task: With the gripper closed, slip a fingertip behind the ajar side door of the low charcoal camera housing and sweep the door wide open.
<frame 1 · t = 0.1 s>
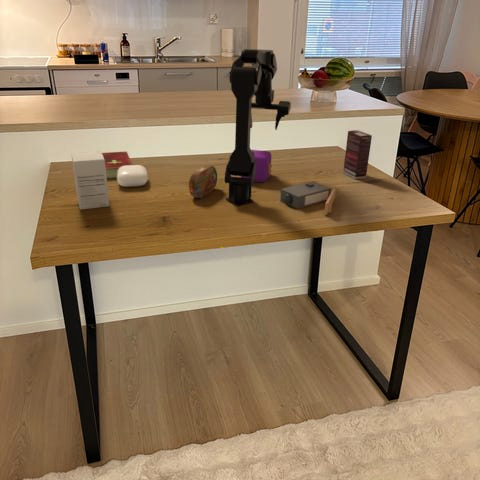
hand: (263, 128, 175), 15 cm above the table, fingers open, 9 cm apart
earbud case: (132, 183, 165), on the table
hardcover book: (115, 170, 179), on the table
side door: (331, 201, 147), point 2 cm above the table, hinge at 35.0°
supplement box 2: (93, 203, 147), on the table
camera housing: (305, 200, 153), on the table
supplement box: (354, 176, 177), on the table
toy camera: (256, 177, 173), on the table
tin: (203, 194, 157), on the table
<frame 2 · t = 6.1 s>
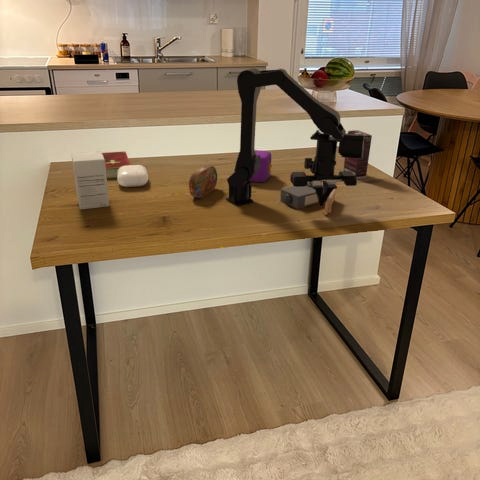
hand: (320, 205, 144), 2 cm above the table, fingers closed
side door: (331, 201, 147), point 2 cm above the table, hinge at 35.0°, touching gripper
everything else where it was.
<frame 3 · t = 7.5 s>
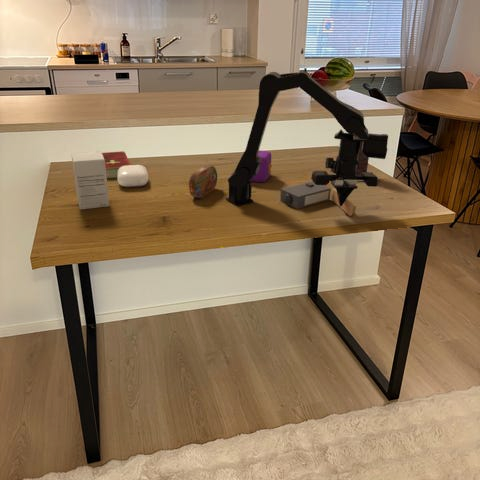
hand: (340, 205, 144), 2 cm above the table, fingers closed
side door: (343, 201, 147), point 2 cm above the table, hinge at 67.0°, touching gripper
everything else where it was.
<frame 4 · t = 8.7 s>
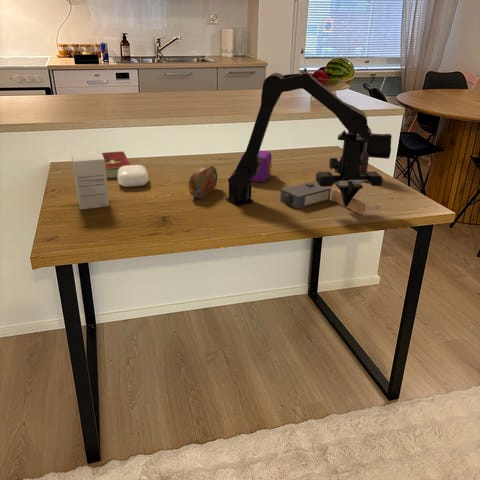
hand: (345, 205, 145), 2 cm above the table, fingers closed
side door: (347, 200, 148), point 2 cm above the table, hinge at 82.5°
everything else where it was.
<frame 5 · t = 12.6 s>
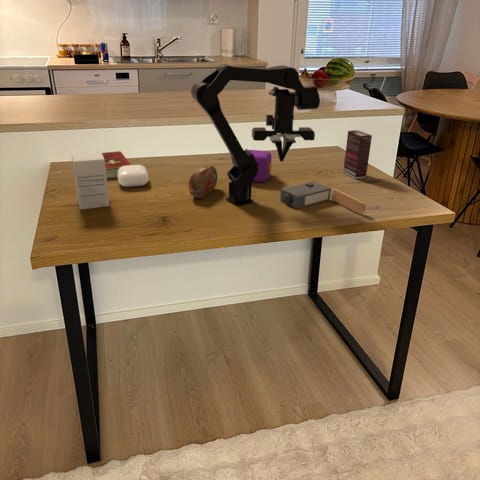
hand: (281, 161, 150), 12 cm above the table, fingers closed
at the end: side door at +83° (first picture: +35°) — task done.
